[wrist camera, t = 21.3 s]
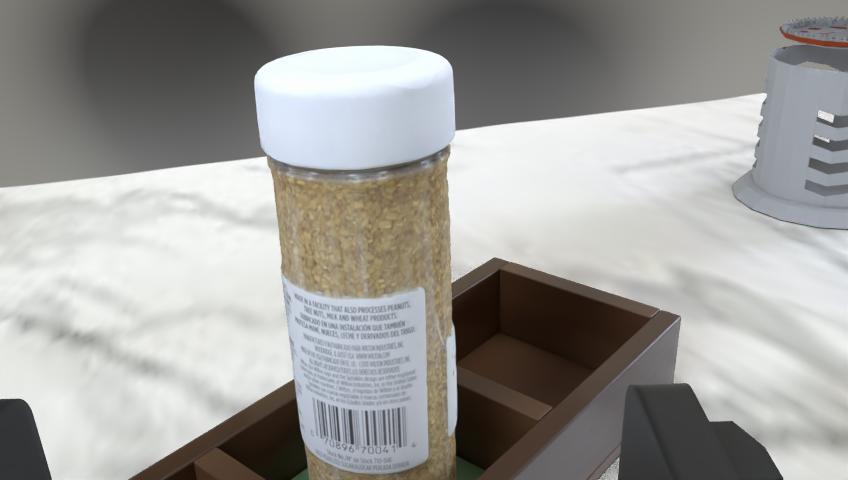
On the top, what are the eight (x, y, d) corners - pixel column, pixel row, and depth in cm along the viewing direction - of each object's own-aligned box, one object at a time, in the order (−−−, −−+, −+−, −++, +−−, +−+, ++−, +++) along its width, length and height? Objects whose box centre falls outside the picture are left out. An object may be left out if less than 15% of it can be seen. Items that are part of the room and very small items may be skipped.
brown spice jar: (485, 487, 24) (486, 46, 19) (414, 597, 21) (390, 90, 15) (359, 445, 26) (326, 35, 21) (274, 538, 23) (207, 72, 17)
